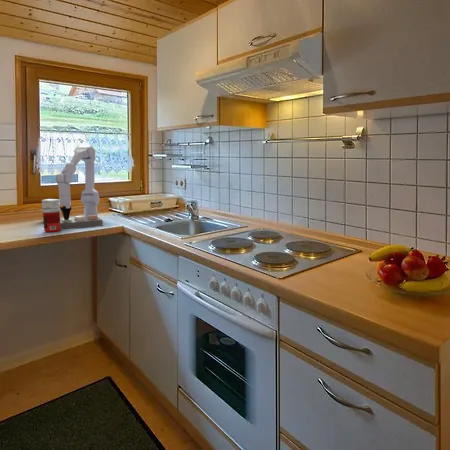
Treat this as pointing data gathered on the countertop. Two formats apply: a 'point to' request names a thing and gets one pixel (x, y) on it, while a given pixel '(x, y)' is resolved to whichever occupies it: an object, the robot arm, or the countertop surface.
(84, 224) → the console
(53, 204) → the white canister
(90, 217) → the terracotta button
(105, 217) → the countertop surface
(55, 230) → the canned food
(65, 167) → the robot arm
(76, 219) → the cream button
